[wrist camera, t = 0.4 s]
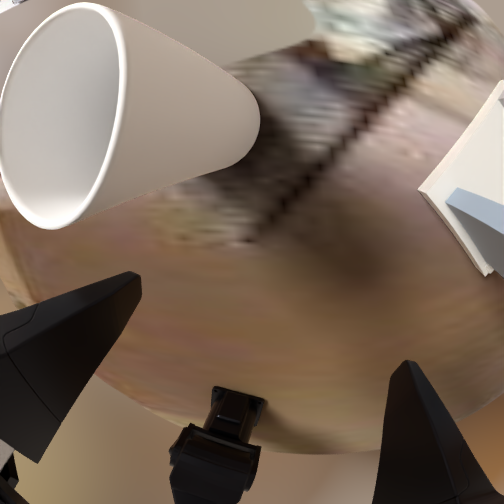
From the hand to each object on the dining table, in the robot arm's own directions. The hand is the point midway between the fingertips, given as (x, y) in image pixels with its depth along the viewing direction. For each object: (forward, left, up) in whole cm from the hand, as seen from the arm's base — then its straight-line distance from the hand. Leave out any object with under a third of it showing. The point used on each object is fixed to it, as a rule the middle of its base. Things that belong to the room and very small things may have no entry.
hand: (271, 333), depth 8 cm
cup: (+6, +8, -15) cm, 18 cm away
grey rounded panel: (+3, -15, -13) cm, 20 cm away
